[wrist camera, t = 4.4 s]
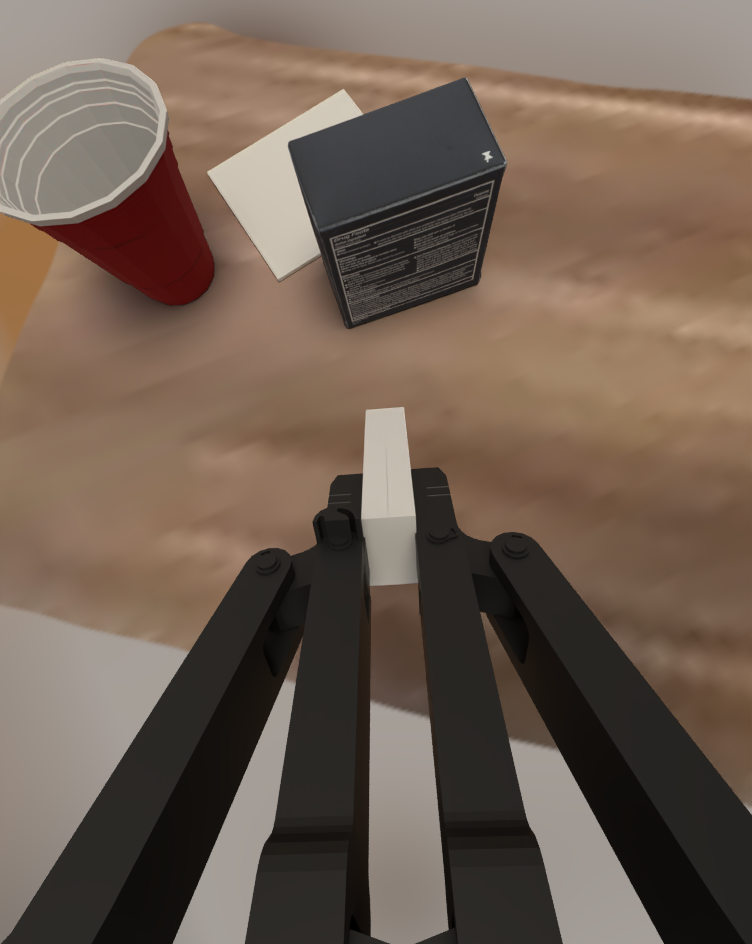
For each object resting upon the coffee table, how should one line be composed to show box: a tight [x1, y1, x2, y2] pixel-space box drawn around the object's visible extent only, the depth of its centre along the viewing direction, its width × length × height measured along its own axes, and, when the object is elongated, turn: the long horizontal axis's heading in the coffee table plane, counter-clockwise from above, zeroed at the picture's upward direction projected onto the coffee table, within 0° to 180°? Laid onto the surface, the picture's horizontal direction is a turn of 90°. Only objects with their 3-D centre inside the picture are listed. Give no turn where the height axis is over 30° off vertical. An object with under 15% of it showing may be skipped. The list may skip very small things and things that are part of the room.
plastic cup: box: [0, 58, 214, 305], centre depth 29 cm, size 11×11×12 cm
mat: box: [207, 89, 363, 282], centre depth 35 cm, size 12×13×1 cm
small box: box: [288, 78, 507, 329], centre depth 28 cm, size 11×6×10 cm, turn 109°
